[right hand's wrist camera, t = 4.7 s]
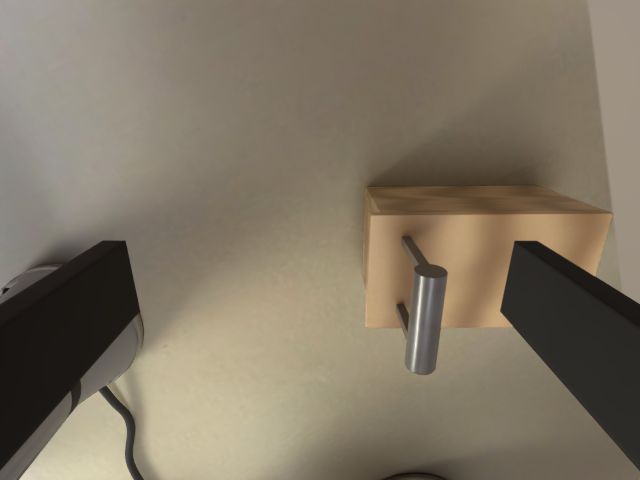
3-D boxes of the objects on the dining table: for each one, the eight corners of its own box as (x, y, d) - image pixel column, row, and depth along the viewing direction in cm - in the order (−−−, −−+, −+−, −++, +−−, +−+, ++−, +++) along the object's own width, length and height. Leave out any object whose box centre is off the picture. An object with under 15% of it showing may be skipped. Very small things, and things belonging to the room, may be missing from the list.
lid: (364, 322, 30) (379, 394, 23) (369, 212, 27) (388, 253, 19) (573, 321, 30) (657, 392, 23) (605, 210, 27) (717, 250, 19)
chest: (362, 275, 39) (374, 322, 30) (365, 186, 35) (379, 211, 27) (518, 274, 39) (573, 320, 30) (536, 185, 35) (604, 210, 27)
